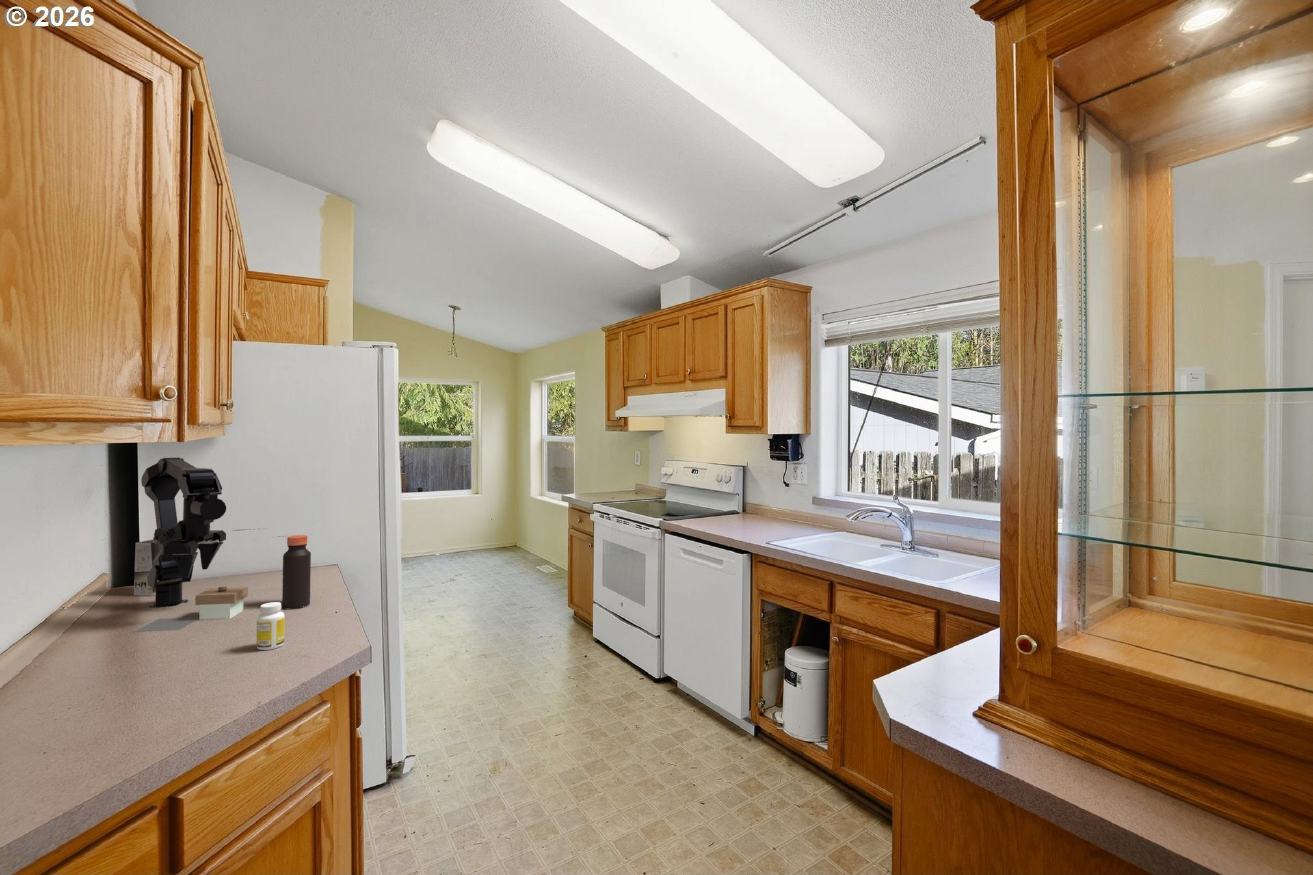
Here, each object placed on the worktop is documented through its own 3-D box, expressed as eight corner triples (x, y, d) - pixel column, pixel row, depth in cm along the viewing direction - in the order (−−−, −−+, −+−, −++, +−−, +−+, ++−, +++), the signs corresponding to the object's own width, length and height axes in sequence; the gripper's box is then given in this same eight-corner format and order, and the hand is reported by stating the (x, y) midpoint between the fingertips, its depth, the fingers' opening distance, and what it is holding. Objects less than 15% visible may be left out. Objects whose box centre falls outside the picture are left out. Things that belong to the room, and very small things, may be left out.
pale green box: (214, 613, 154) (214, 597, 154) (243, 612, 156) (243, 596, 156) (199, 622, 148) (199, 604, 148) (229, 620, 149) (230, 603, 149)
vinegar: (312, 601, 167) (313, 534, 167) (306, 608, 160) (307, 538, 160) (286, 603, 165) (287, 534, 165) (278, 610, 158) (279, 539, 158)
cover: (210, 597, 154) (210, 584, 154) (247, 596, 156) (247, 583, 156) (195, 605, 147) (195, 591, 147) (234, 603, 149) (234, 590, 149)
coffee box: (154, 596, 170) (154, 542, 170) (133, 595, 170) (133, 542, 170) (180, 588, 179) (180, 537, 179) (160, 587, 179) (160, 536, 179)
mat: (159, 621, 148) (159, 618, 148) (202, 619, 150) (202, 616, 150) (132, 634, 138) (132, 631, 138) (179, 631, 140) (179, 629, 140)
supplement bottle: (281, 640, 136) (282, 599, 136) (286, 646, 132) (287, 604, 132) (254, 645, 132) (254, 604, 132) (258, 652, 128) (259, 609, 128)
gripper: (182, 510, 159) (180, 565, 159) (138, 521, 141) (136, 583, 141) (227, 510, 161) (226, 565, 162) (190, 521, 143) (188, 582, 143)
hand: (195, 573), depth 152 cm, fingers open, 9 cm apart
